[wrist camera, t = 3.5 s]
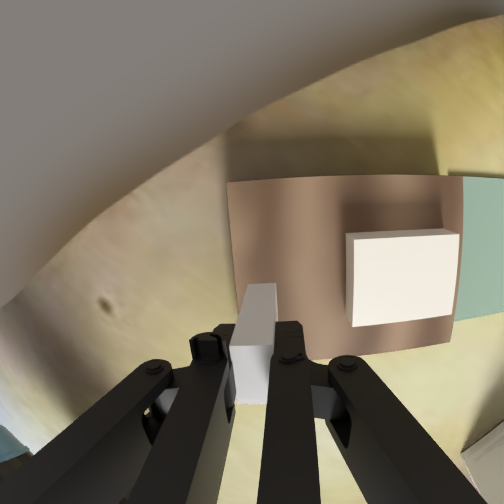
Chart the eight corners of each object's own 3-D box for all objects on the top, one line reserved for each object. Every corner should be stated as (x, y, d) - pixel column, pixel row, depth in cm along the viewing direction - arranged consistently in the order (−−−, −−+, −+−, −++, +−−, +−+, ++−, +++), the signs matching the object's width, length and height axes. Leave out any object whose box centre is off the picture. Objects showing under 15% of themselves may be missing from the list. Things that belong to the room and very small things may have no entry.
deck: (248, 339, 28) (243, 363, 24) (234, 182, 25) (226, 182, 21) (432, 323, 27) (449, 341, 23) (439, 175, 24) (462, 176, 20)
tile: (345, 312, 23) (352, 327, 20) (345, 233, 21) (353, 239, 19) (437, 302, 22) (451, 314, 20) (443, 228, 21) (459, 234, 18)
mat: (440, 321, 26) (442, 323, 26) (448, 175, 23) (450, 175, 23) (520, 306, 25) (521, 307, 25) (530, 181, 22) (533, 181, 22)
